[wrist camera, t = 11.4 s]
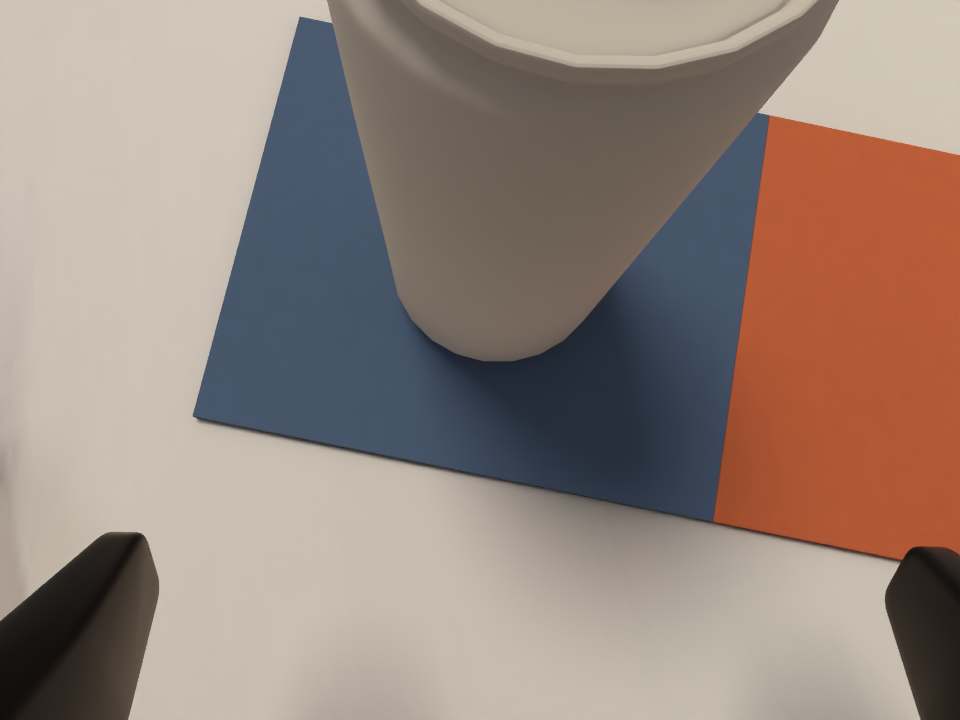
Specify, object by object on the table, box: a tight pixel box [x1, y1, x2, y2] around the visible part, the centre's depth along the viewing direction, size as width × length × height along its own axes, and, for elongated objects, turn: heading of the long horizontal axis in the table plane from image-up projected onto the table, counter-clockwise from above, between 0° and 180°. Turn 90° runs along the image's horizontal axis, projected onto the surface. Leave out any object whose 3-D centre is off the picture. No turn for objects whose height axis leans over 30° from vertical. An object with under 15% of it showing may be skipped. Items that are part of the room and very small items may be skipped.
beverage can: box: [327, 0, 839, 361], centre depth 12 cm, size 5×5×12 cm
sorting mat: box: [193, 17, 960, 560], centre depth 18 cm, size 24×10×1 cm, turn 79°
